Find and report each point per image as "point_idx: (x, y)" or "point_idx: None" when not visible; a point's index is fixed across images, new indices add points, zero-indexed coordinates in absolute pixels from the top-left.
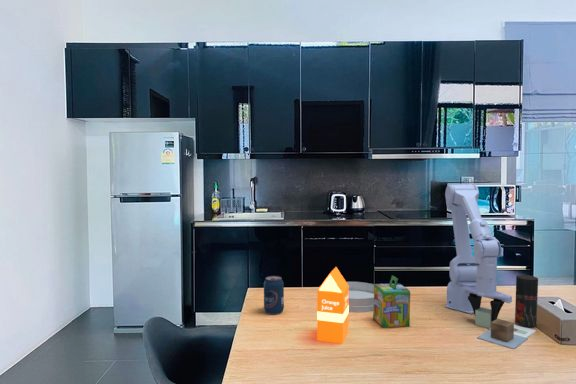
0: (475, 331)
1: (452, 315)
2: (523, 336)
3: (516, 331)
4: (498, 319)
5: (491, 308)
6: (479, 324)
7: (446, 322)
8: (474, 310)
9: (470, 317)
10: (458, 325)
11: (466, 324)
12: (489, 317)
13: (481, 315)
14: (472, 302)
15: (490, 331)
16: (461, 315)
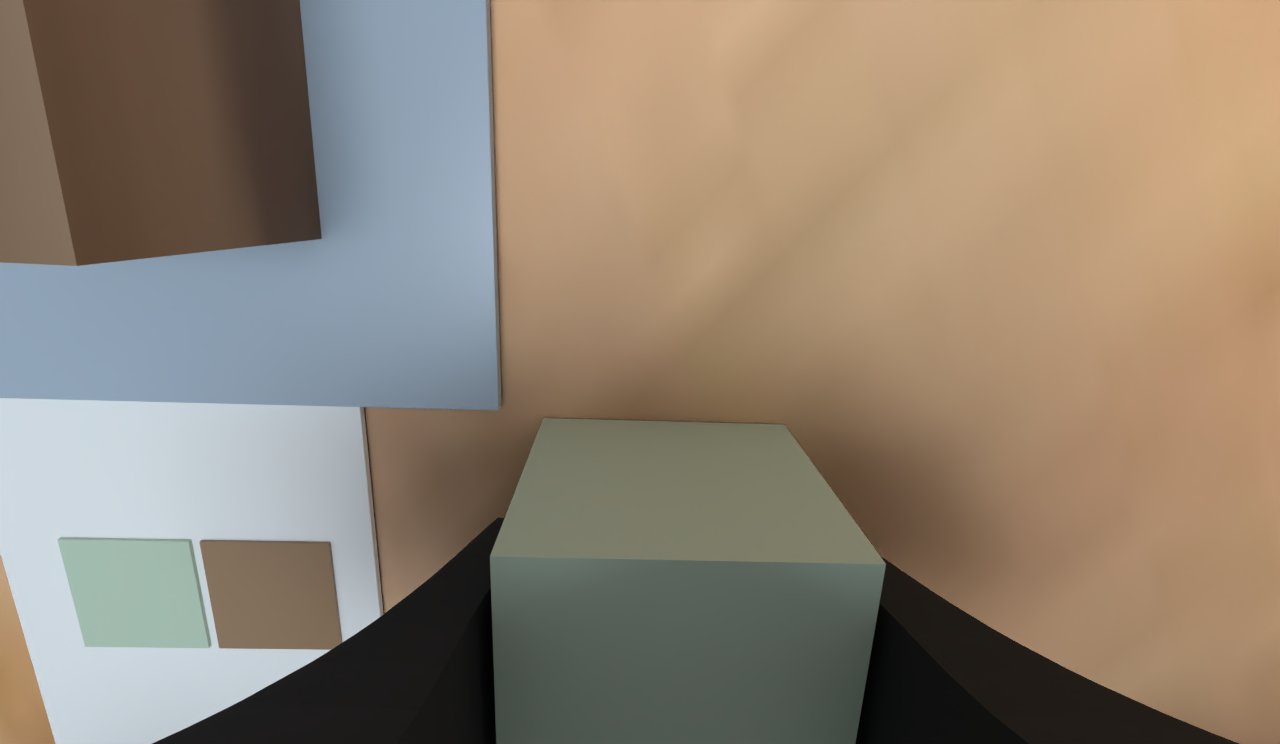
0: (655, 90)
1: (1194, 535)
2: (15, 435)
3: (188, 550)
4: (13, 200)
5: (410, 703)
6: (714, 427)
7: (1218, 140)
8: (912, 598)
9: None
10: (993, 157)
11: (893, 312)
12: (519, 508)
13: (704, 508)
14: (1131, 740)
15: (444, 240)
16: (1072, 627)
